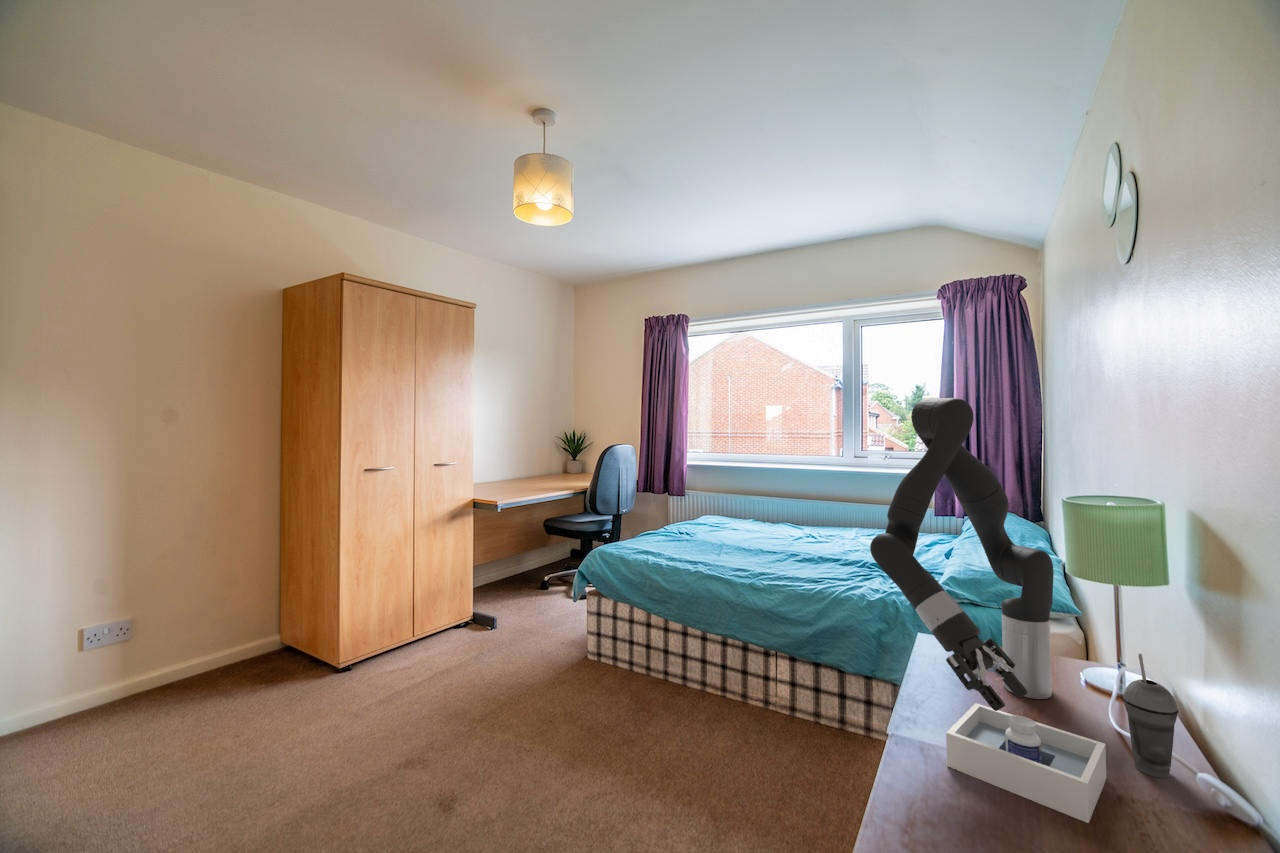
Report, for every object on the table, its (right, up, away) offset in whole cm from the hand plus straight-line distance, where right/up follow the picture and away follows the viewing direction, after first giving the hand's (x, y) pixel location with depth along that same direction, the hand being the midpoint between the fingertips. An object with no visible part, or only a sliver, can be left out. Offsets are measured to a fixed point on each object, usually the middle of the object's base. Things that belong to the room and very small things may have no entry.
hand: (1012, 702), depth 99 cm
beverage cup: (+24, -11, -2) cm, 26 cm away
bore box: (+1, -11, -2) cm, 12 cm away
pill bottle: (+1, -12, -2) cm, 12 cm away
